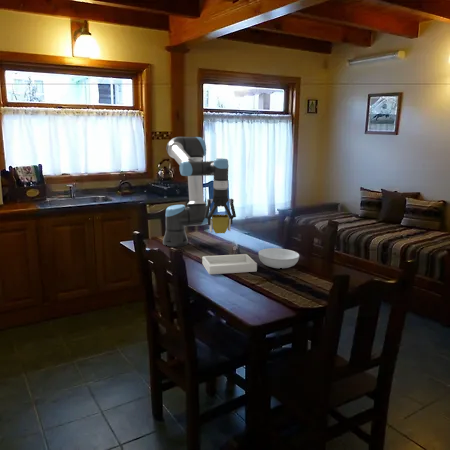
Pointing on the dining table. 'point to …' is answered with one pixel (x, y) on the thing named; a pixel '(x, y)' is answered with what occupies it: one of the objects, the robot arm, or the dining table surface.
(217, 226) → the flower pot
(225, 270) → the tray
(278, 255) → the serving bowl
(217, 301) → the dining table surface
